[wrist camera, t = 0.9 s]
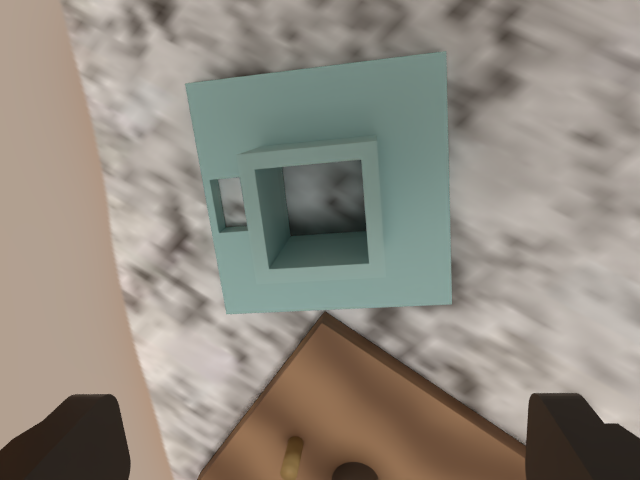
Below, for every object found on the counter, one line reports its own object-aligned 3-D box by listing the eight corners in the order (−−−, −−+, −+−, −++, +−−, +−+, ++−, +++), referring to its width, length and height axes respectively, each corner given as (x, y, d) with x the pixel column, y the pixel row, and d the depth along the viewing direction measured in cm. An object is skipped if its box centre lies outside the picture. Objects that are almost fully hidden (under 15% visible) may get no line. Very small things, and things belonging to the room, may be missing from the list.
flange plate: (442, 54, 22) (464, 37, 16) (448, 295, 25) (467, 344, 20) (194, 84, 24) (142, 78, 18) (232, 305, 27) (198, 352, 22)
